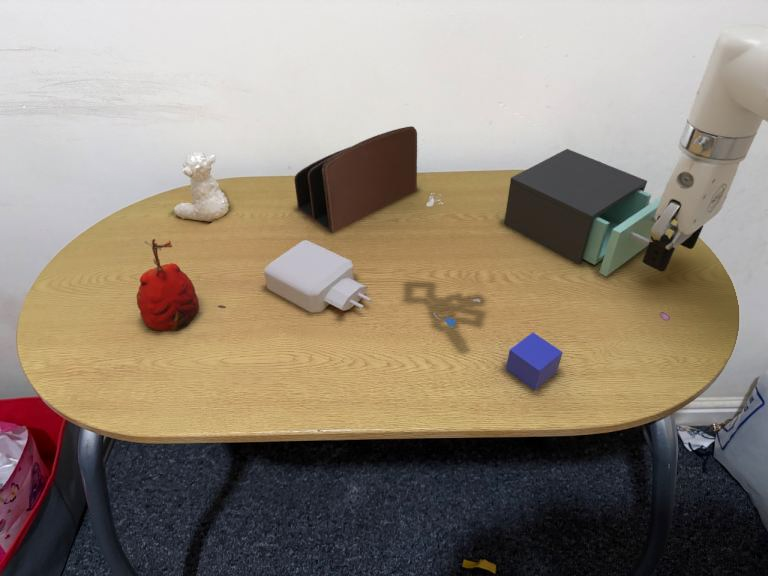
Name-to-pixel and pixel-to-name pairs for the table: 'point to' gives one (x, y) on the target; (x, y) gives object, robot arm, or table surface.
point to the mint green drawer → (623, 232)
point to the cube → (533, 360)
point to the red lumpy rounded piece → (166, 295)
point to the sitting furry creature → (202, 191)
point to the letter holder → (359, 179)
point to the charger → (314, 278)
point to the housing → (565, 200)
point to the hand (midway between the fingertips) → (668, 254)
